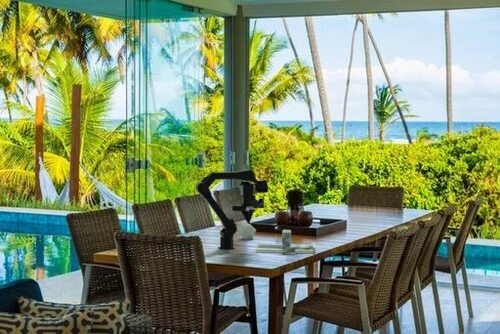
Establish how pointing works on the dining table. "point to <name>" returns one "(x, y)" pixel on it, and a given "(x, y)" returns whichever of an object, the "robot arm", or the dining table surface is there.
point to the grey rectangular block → (287, 243)
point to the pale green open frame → (282, 249)
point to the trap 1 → (288, 253)
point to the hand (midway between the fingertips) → (248, 223)
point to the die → (247, 231)
